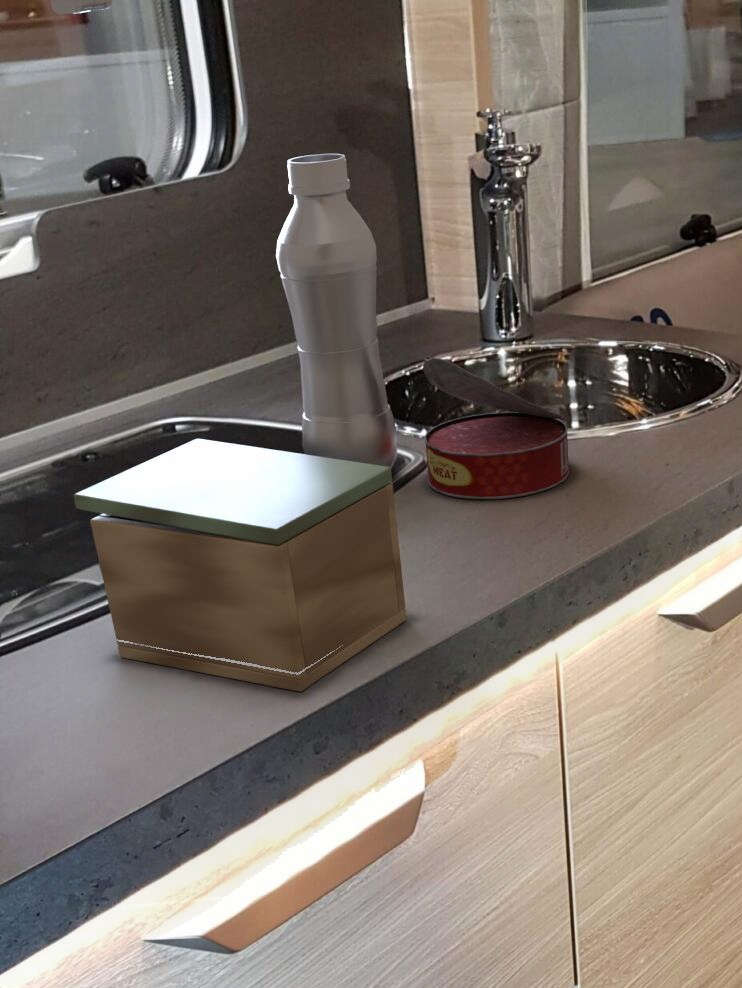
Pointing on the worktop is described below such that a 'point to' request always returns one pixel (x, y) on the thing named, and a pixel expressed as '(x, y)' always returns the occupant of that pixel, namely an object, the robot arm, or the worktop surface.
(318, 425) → the plastic bottle
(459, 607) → the worktop surface
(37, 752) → the worktop surface
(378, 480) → the lid
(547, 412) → the canned food
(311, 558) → the chest
